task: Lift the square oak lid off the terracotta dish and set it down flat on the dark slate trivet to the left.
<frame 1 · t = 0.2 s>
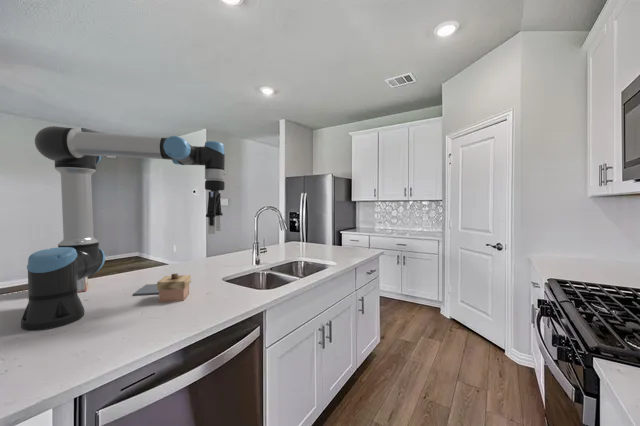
hand: (214, 232, 115), 27 cm above the counter, fingers open, 13 cm apart
cracker box: (78, 289, 127), on the counter
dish: (174, 297, 116), on the counter
lid: (174, 285, 116), point 5 cm above the counter, touching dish
trivet: (157, 289, 126), on the counter
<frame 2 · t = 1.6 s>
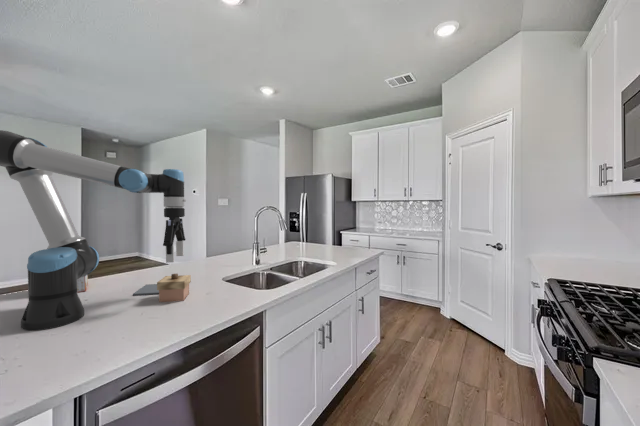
hand: (175, 259, 115), 16 cm above the counter, fingers open, 13 cm apart
nothing on the counter moved.
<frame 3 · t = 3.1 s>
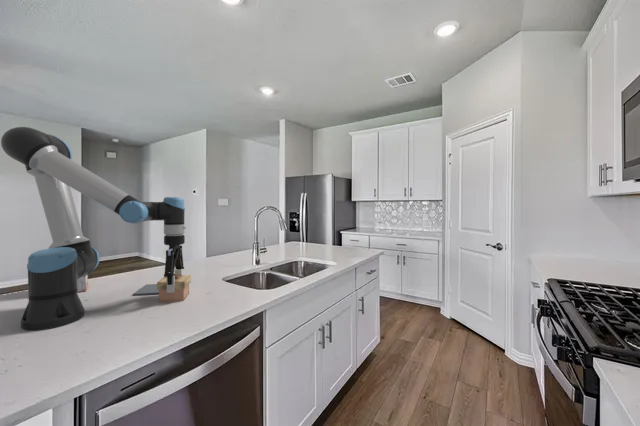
hand: (174, 288, 116), 4 cm above the counter, fingers closed on lid, 10 cm apart
lid: (174, 285, 116), point 5 cm above the counter, touching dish, gripper
everything else where it was.
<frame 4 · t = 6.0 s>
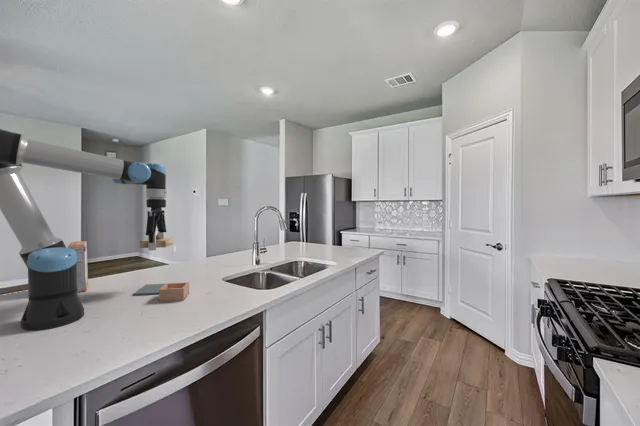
hand: (156, 248, 126), 19 cm above the counter, fingers closed on lid, 10 cm apart
lid: (156, 245, 126), point 20 cm above the counter, touching gripper
everything else where it was.
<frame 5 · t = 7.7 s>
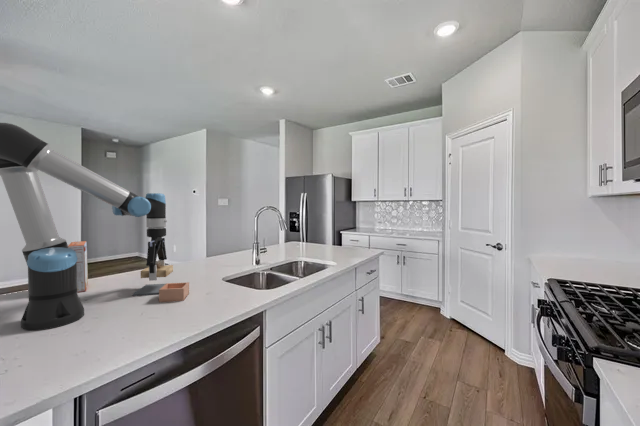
hand: (157, 276, 126), 6 cm above the counter, fingers closed on lid, 10 cm apart
lid: (157, 274, 126), point 7 cm above the counter, touching gripper
everything else where it was.
when the fingers open (2 cm above the counter, at t = 8.9 s): lid drops 2 cm, resting on trivet.
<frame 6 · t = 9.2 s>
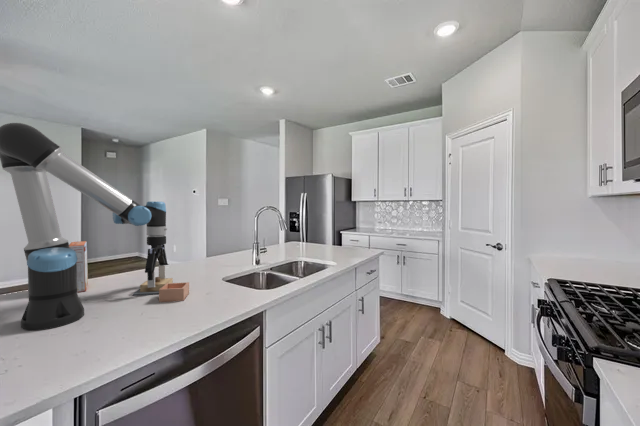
hand: (157, 283, 126), 3 cm above the counter, fingers open, 13 cm apart
lid: (157, 288, 126), point 1 cm above the counter, touching trivet
everything else where it was.
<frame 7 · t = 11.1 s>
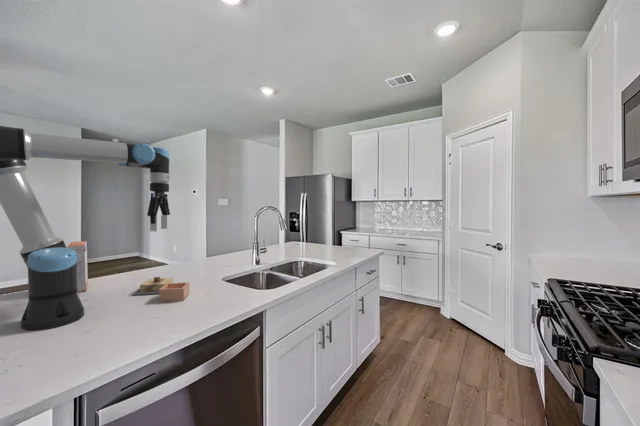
hand: (159, 230, 126), 27 cm above the counter, fingers open, 13 cm apart
nothing on the counter moved.
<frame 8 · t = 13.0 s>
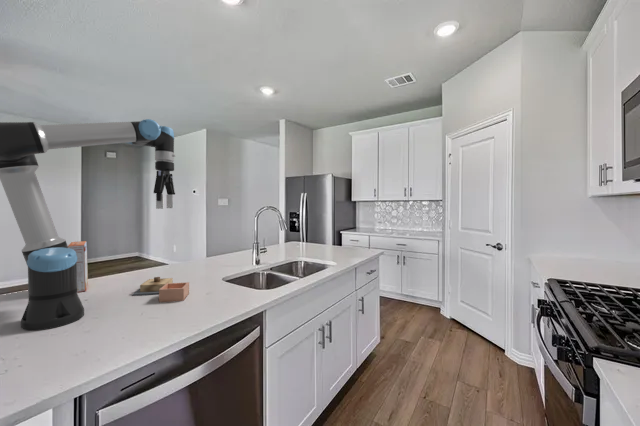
hand: (165, 208, 128), 37 cm above the counter, fingers open, 13 cm apart
nothing on the counter moved.
at the end: lid inside the target area on the trivet (0.0 cm from its centre), point 0.8 cm above the trivet's base; lid tilted 0°; lid touching trivet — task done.
